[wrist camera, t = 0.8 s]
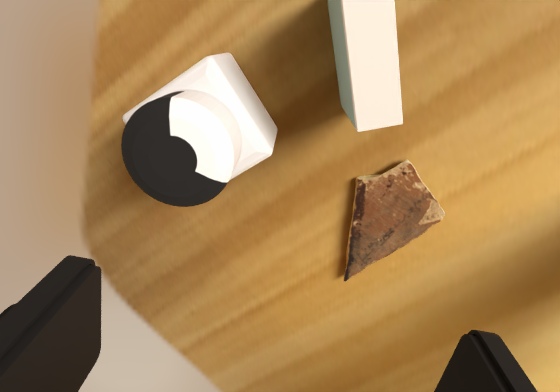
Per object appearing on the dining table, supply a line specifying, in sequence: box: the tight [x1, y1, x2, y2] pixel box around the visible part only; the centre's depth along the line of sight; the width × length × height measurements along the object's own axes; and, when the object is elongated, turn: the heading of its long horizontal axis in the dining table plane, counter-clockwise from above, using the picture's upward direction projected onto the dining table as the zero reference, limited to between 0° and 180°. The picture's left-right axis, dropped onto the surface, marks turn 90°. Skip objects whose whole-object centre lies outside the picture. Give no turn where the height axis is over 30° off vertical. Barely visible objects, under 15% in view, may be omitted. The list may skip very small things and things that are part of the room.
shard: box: [344, 159, 446, 281], centre depth 33 cm, size 11×8×2 cm
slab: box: [327, 0, 403, 132], centre depth 24 cm, size 2×8×9 cm, turn 11°
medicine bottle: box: [121, 53, 278, 207], centre depth 25 cm, size 7×7×12 cm
